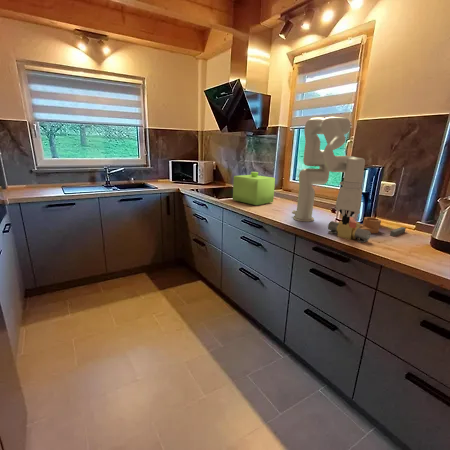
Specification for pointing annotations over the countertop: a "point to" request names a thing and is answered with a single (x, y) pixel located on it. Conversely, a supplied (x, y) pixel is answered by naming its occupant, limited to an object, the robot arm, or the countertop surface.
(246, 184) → the canister
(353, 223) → the lever
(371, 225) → the small saucepan
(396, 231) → the block
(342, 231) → the valve body
